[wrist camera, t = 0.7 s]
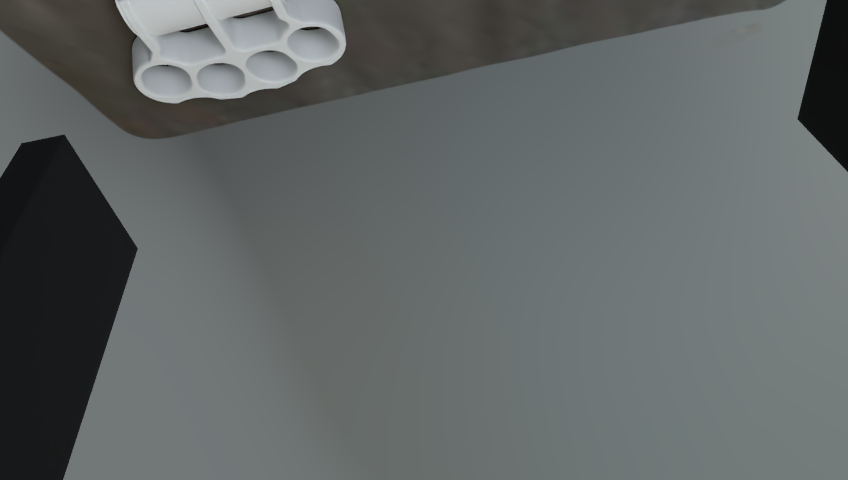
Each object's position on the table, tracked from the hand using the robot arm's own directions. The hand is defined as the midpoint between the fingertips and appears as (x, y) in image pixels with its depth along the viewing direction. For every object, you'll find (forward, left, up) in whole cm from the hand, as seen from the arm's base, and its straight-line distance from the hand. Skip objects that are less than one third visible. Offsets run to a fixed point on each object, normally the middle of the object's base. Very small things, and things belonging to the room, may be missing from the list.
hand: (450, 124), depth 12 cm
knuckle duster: (+22, -29, -33) cm, 49 cm away
